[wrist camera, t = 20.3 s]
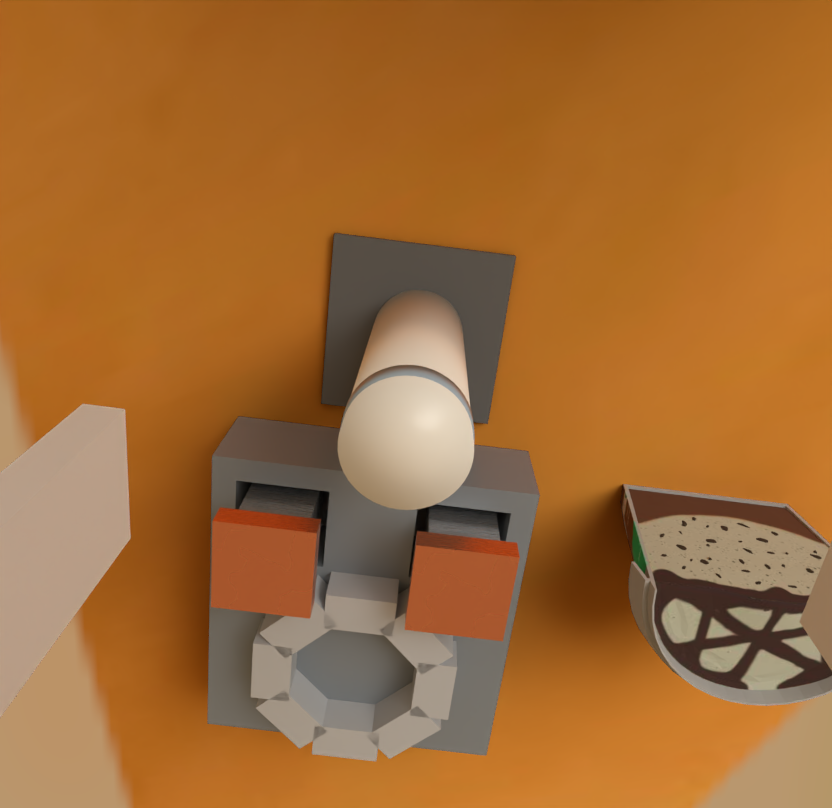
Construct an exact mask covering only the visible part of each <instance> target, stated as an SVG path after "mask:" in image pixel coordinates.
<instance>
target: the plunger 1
mask: <svg viewBox="0 0 832 808" xmlns="http://www.w3.org/2000/svg"><path fill="white" fill-rule="evenodd" d="M322 501H323V491H320V490H311V489H303V488H294V487H286V486H278V485H269V484H261V483H253V482H252V484H251V486H250V488H249V490H248V492H247V494H246V496H245V498H244V500H243V502H242V504H241V506H240V508H239V510H238V509H230V508H222V507H220V508H219V510H218V512H217V514H216V516H215V517H214V519H213V521H212V574H211V607H215V608H223V609H232V610H240V611H249V612H257V613H266V614H274V615H283V616H291V617H300V618H308V619H310V617H311V613H312V609H313V605H314V599H315V587H316V574H317V562H318V550H319V537H320V526H321V513H322Z"/></svg>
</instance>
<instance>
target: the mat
mask: <svg viewBox="0 0 832 808" xmlns="http://www.w3.org/2000/svg"><path fill="white" fill-rule="evenodd" d="M515 259H516V256H515V255H508V254H500V253H492V252H484V251H476V250H468V249H460V248H452V247H444V246H436V245H428V244H420V243H412V242H404V241H396V240H388V239H380V238H372V237H364V236H356V235H348V234H340V233H335V234H334V242H333V255H332V268H331V282H330V295H329V308H328V321H327V334H326V347H325V360H324V374H323V387H322V400H321V404H329V405H338V406H346V405H347V403H348V400H349V398H350V396H351V394H352V391H353V388H354V385H355V382H356V379H357V375H358V372H359V369H360V366H361V363H362V360H363V357H364V353H365V350H366V347H367V344H368V341H369V338H370V335H371V331H372V328H373V325H374V322H375V319H376V316H377V314H378V312H379V311H380V309H381V307H382V306H383V305H384V304H385V303H386V302H387V301H388V300H389V299H391V298H392V297H394V296H395V295H397V294H399V293H402V292H405V291H409V290H426V291H430V292H433V293H436V294H438V295H440V296H442V297H443V298H445V299H446V300H447V301H448V302H449V303H450V304H451V305H452V306H453V307H454V308H455V310H456V311H457V313H458V315H459V317H460V320H461V324H462V330H463V340H464V350H465V360H466V369H467V379H468V389H469V399H470V408H471V412H472V417H473V422H477V423H486V424H488V419H489V413H490V407H491V402H492V396H493V390H494V384H495V378H496V372H497V366H498V360H499V354H500V348H501V342H502V336H503V330H504V324H505V318H506V312H507V307H508V301H509V295H510V289H511V283H512V277H513V271H514V265H515Z"/></svg>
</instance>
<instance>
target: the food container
mask: <svg viewBox="0 0 832 808" xmlns="http://www.w3.org/2000/svg"><path fill="white" fill-rule="evenodd" d="M620 503H621V509H622V515H623V521H624V526H625V530H626V534H627V538H628V542H629V546H630V550H631V553H632V557H633V561H634V562H631V567H630V573H629V599H630V604H631V609H632V613H633V616H634V618H635V620H636V623H637V625H638V628H639V629H640V631H641V632H642V634H643V635H644V637H645V638H646V640H647V641H648V643H649V644H650V645H651V647H652V648H653V649H654V651H655V652H656V653H657V654H658V656H659V657H660V658H661V659H662V661H663V662H664V663H665V664H666V665H667V666H668V667H669V668H670V669H671V670H672V671H673V672H675V673H676V674H677V675H679V676H680V677H682V678H683V679H684V680H686V681H687V682H689V683H690V684H691V685H693V686H694V687H696V688H697V689H699V690H701V691H703V692H705V693H707V694H709V695H711V696H714V697H717V698H721V699H724V700H727V701H730V702H736V703H741V704H747V705H765V706H768V705H783V704H790V703H796V702H801V701H806V700H810V699H813V698H816V697H819V696H822V695H826V694H828V693H830V692H832V670H831V669H830V667H829V666H828V664H827V663H826V661H825V660H824V658H823V657H822V655H821V654H820V652H819V651H818V649H817V648H816V646H815V645H814V643H813V642H812V640H811V638H810V637H809V635H808V634H807V632H806V631H805V629H804V628H803V626H802V625H801V623H800V622H799V621H800V619H801V616H802V614H803V611H804V609H805V606H806V604H807V601H808V599H809V596H810V594H811V591H812V589H813V586H814V584H815V581H816V579H817V576H818V574H819V571H820V569H821V566H822V564H823V562H824V559H825V557H826V554H827V552H828V549H829V547H830V543H829V542H828V541H827V540H826V539H825V538H824V537H822V536H821V535H820V534H819V533H818V532H817V531H816V530H815V529H814V528H813V527H812V526H811V525H810V524H808V523H807V522H806V521H805V520H804V519H803V518H802V517H801V516H800V515H799V514H798V513H797V512H796V511H794V510H793V509H792V508H791V507H790V506H789V505H788V504H782V503H774V502H766V501H757V500H749V499H741V498H733V497H725V496H717V495H708V494H700V493H692V492H684V491H676V490H668V489H660V488H651V487H643V486H635V485H627V484H623V488H622V495H621V501H620Z"/></svg>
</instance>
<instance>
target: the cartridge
mask: <svg viewBox="0 0 832 808" xmlns="http://www.w3.org/2000/svg"><path fill="white" fill-rule="evenodd" d="M338 457H339V461H340V465H341V467H342V470H343V472H344V474H345V476H346V477H347V479H348V481H349V482H350V483H351V484H352V486H353V487H354V488H355V489H356V490H357V491H358V492H359V493H361V494H362V495H363V496H365V497H366V498H368V499H369V500H371V501H373V502H375V503H377V504H379V505H382V506H385V507H388V508H393V509H400V510H415V509H421V508H426V507H429V506H433V505H435V504H437V503H439V502H441V501H443V500H445V499H446V498H448V497H449V496H451V495H452V494H453V493H454V492H455V491H456V490H457V489H458V488H459V487H460V486H461V485H462V483H463V482H464V481H465V479H466V477H467V476H468V474H469V472H470V469H471V466H472V463H473V458H474V425H473V417H472V412H471V408H470V399H469V389H468V379H467V369H466V360H465V350H464V340H463V330H462V324H461V320H460V317H459V315H458V313H457V311H456V310H455V308H454V307H453V306H452V305H451V304H450V303H449V302H448V301H447V300H446V299H445V298H443V297H442V296H440V295H438V294H436V293H433V292H430V291H426V290H409V291H405V292H402V293H399V294H397V295H395V296H394V297H392V298H391V299H389V300H388V301H387V302H386V303H385V304H384V305H383V306H382V307H381V309H380V311H379V312H378V314H377V316H376V319H375V322H374V325H373V328H372V331H371V335H370V338H369V341H368V344H367V347H366V350H365V353H364V357H363V360H362V363H361V366H360V369H359V372H358V375H357V379H356V382H355V385H354V388H353V391H352V394H351V396H350V398H349V400H348V403H347V405H346V408H345V411H344V415H343V418H342V421H341V427H340V432H339V437H338Z"/></svg>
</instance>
